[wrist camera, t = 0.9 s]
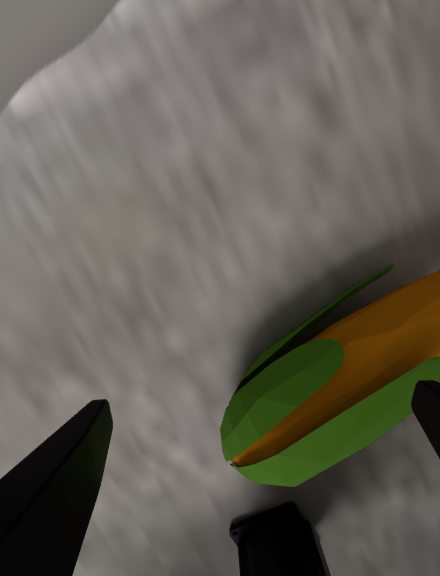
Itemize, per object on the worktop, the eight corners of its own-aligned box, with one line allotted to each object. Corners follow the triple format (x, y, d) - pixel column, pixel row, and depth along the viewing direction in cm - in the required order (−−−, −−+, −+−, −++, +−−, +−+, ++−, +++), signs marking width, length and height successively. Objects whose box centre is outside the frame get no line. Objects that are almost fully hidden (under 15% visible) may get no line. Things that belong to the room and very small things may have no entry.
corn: (189, 484, 16) (532, 225, 12) (190, 391, 23) (408, 211, 20) (275, 545, 18) (585, 337, 15) (251, 441, 25) (456, 287, 22)
